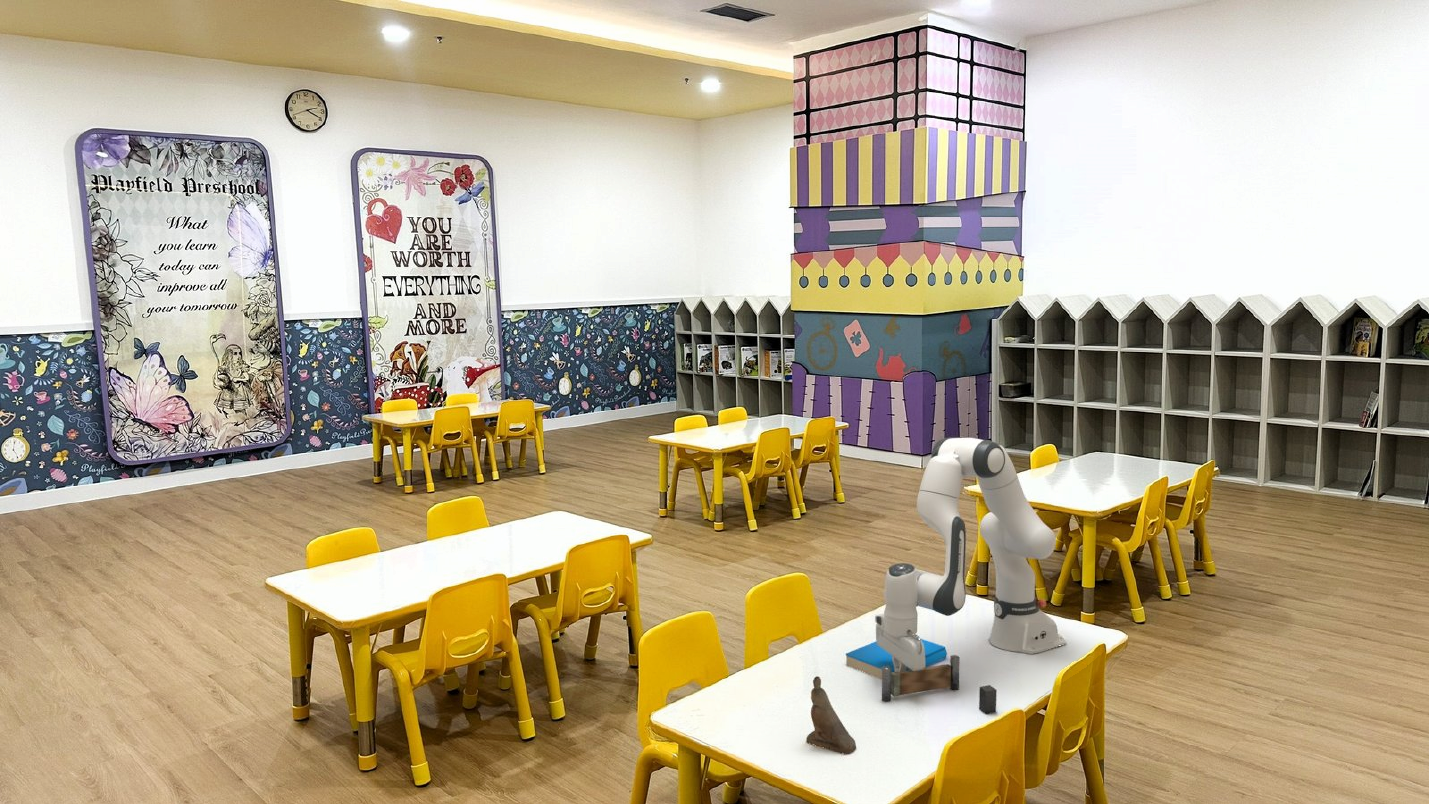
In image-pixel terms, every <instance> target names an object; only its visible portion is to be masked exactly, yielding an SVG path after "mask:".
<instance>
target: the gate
mask: <svg viewBox="0 0 1429 804" xmlns="http://www.w3.org/2000/svg"><path fill="white" fill-rule="evenodd" d="M950 683H951V666H950V663H949V664H940V665H935V666H928V667H925V668H924V669H923V670H919V671H912V670H907V671H901V672H891V697H894V698H896V697H901V696H905V695H910V694H916V693H917V694H918V693H923V692H929V691H935V690H942V689H946V688H950Z"/></svg>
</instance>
